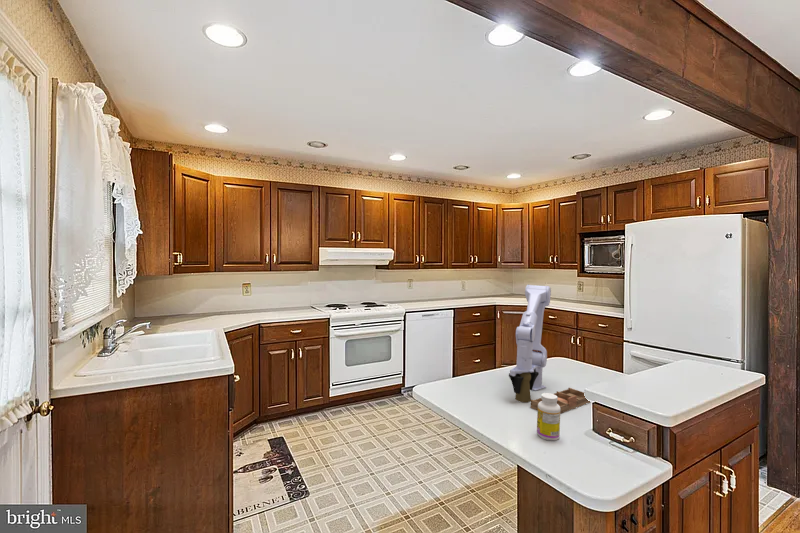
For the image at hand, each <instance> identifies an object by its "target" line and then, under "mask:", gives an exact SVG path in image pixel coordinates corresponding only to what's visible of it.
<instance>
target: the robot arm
mask: <svg viewBox="0 0 800 533" xmlns="http://www.w3.org/2000/svg"><path fill="white" fill-rule="evenodd" d="M551 289H552V288H551V287H550V285H535V284H526V286H525V289H524V290H525V291H524V294H525V298H526V301H527V305H526V306H527V307H526V311H524V312H523V313H522V316H521V320H520V323H519V326H517V327H516V329H515V343H516V347H517V348H516V365H515V367H514V368H512V369H509V373H508V377H509V379H510V381H511V383H512V387H513V392H514V393H515V394H516V393H518V394H520V389H521V383H522V380H523V377H521V376H520V375H519V374H522V373H523V372H529V373H530V374H531V380H530V381H529V383H530V391H539V390H543V389H546V388H547V386H546V385H544V384H543V368H545V367H546V366H547V362H548V351H547V349H546V347H544V345H542V333H543V324H544V322H543V321H544V314H545V313H544V312H545V308H546V307H549V306H550V303H551V295H552V290H551Z"/></svg>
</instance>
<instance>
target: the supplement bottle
mask: <svg viewBox="0 0 800 533" xmlns="http://www.w3.org/2000/svg"><path fill="white" fill-rule="evenodd" d="M540 398H541V399H542V401H541V402H539V403H538V411H537V413H536V414H537V417H536V434H537V436H538V437H539V438H541V439H543V440H545V441H556V440H559V438H560V436H561V435H560V431H561V430H560V429H561V414H560V410H561V409H560V406H559V405H558V404H557V401H558V400H557V398H558V397H557V396H556V395H554V393H551V392H543V393H541V396H540Z"/></svg>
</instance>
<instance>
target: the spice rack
mask: <svg viewBox="0 0 800 533" xmlns="http://www.w3.org/2000/svg"><path fill="white" fill-rule="evenodd" d="M584 393H585V392H584V391H581V390H578V389H575V388H571V387H568V388H566V389H564V390H560V391H559V390H558V391H556V392H555V393H553V394H554V395H556V396H557V397H558V398H557V400H558V401H557V404H558V405H559V406H560V409H561V410H560V415H561V414H564V413H566V412H569V411H572V410H575V409H576V407H577V408H580V407H582V406H584V404H585V405H587V404H586V403H588V404H590V403H591V402H590V401H588V400H587V399H586V398H585V396H584ZM541 401H542V399H541V397H539V398H536V399H531V402H530V408H531V409H532V410H535V411H536V412H538V403H539V402H541ZM579 406H580V407H579ZM571 409H572V410H571Z"/></svg>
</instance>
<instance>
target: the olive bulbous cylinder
mask: <svg viewBox="0 0 800 533" xmlns="http://www.w3.org/2000/svg"><path fill="white" fill-rule="evenodd" d="M519 375H520V376H521V377H523V380H522V383H521V389H520V394H518V393H515V395H514V400H515V401H517V402H519V403H525V404H527V403H531V400H532V399H531V398H532V397H531V396H532V395H531V390H530V383H529V381H530V380H531V374H530V373H529V372H523V373H522V374H519Z"/></svg>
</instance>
